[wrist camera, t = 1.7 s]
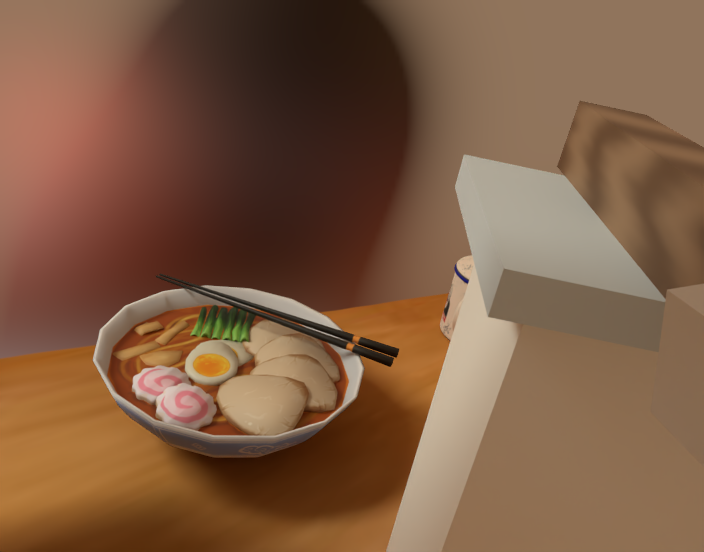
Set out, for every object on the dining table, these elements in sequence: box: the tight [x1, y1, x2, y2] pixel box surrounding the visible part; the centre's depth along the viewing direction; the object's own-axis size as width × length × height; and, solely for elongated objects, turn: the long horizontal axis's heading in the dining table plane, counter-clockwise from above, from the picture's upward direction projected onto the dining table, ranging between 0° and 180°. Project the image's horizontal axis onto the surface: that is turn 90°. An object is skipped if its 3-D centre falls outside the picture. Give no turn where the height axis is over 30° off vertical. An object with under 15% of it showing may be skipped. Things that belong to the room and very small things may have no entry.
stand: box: [386, 155, 704, 552], centre depth 36 cm, size 16×16×30 cm
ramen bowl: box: [93, 274, 399, 458], centre depth 56 cm, size 25×23×8 cm
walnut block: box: [557, 101, 704, 299], centre depth 25 cm, size 28×4×4 cm, turn 176°
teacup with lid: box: [440, 256, 474, 341], centre depth 77 cm, size 12×9×12 cm
